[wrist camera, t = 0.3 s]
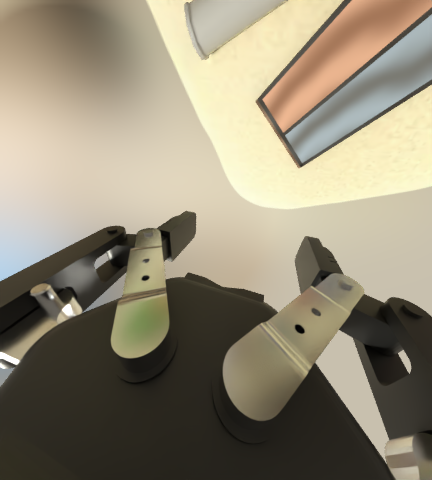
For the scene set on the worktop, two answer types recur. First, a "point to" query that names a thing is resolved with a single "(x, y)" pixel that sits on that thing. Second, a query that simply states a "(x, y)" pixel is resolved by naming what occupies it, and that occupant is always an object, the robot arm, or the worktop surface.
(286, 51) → the worktop surface
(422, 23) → the picture board
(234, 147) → the worktop surface
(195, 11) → the tube
